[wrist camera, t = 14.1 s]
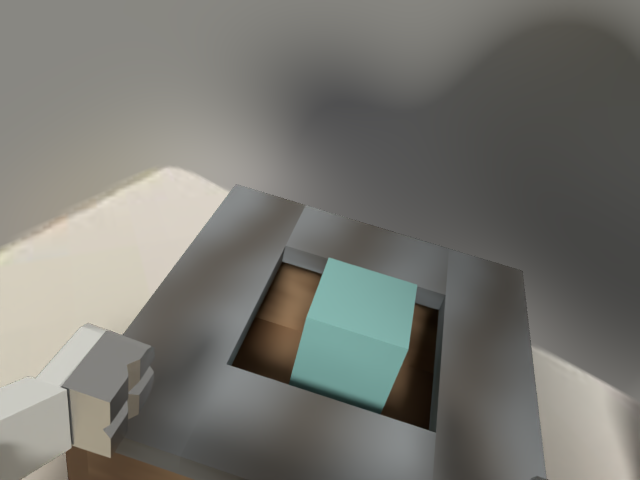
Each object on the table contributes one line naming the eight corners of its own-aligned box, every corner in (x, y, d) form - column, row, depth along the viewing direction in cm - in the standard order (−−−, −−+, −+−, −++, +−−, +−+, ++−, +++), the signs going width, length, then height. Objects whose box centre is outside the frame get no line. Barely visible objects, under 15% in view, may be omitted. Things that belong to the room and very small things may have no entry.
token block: (361, 424, 30) (417, 284, 24) (347, 491, 27) (408, 349, 21) (289, 400, 30) (328, 257, 25) (267, 464, 27) (306, 317, 21)
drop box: (463, 380, 35) (522, 270, 30) (455, 685, 22) (558, 585, 17) (219, 303, 36) (236, 184, 31) (75, 550, 23) (61, 416, 18)
